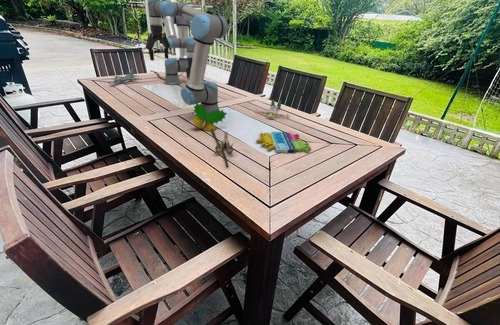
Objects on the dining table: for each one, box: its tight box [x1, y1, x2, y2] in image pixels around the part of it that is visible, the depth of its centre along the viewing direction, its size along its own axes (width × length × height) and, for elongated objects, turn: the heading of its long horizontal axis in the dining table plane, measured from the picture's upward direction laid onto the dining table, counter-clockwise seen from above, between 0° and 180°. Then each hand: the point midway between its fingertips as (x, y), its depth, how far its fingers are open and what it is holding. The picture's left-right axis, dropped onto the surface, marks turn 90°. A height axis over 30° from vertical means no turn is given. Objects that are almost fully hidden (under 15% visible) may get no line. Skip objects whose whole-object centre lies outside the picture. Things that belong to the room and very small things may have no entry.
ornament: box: [191, 102, 228, 132], centre depth 162 cm, size 21×8×15 cm, turn 105°
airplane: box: [109, 67, 143, 87], centre depth 251 cm, size 38×32×10 cm
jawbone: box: [214, 131, 234, 156], centre depth 136 cm, size 9×15×10 cm
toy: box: [252, 99, 291, 120], centre depth 197 cm, size 28×7×30 cm
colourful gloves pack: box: [256, 131, 312, 154], centre depth 152 cm, size 26×2×30 cm
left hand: (192, 85), depth 231 cm, fingers closed on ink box, 5 cm apart
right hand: (159, 59), depth 181 cm, fingers open, 13 cm apart
